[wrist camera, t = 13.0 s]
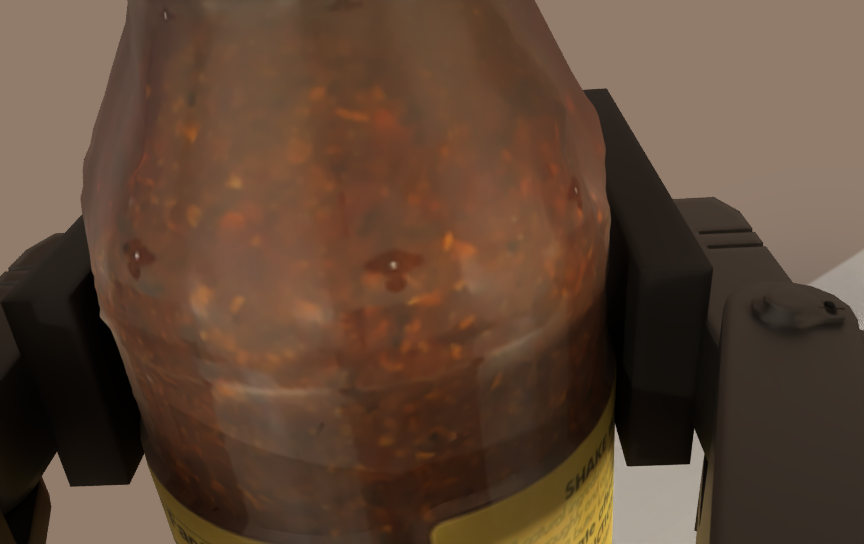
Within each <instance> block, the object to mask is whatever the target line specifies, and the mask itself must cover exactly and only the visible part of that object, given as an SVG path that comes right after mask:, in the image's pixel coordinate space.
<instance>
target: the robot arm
mask: <svg viewBox="0 0 864 544" xmlns="http://www.w3.org/2000/svg"><path fill="white" fill-rule="evenodd" d="M583 92H584V93H585V95H586V97H587V98H588V99H589V101H590V102H591V103H592V104H593V106H594V107H595V109H596V112H597V114H598V116H599V120H600V125H601V129H602V134H603V138H604V143H605V147H606V153H605V170H606V195H607V200H608V203H609V206H610V216H611V225H610V250H609V270H608V275H607V287H606V295H607V324H608V331H609V334H610V337H611V340H612V344H613V347H614V352H615V358H616V402H615V425H616V428H617V432H618V436H619V439H620V443H621V446H622V450H623V454H624V457H625V461H626V464H627V466H652V465H680V464H690V459H691V451H692V442H693V434H694V429H695V431H696V433H697V436H698V438H699V441H700V443H701V446H702V448H703V451H704V453H705V454H704V461H703V469H702V477H701V484H700V492H699V500H698V507H697V515H696V523H695V530H694V531H697V536H696V544H864V331H863V330H860V329H859V325H858V320H857V318H856V316H855V314H854V313H853V311H852V309H851V308H850V306H848V305H847V304H846V303H844V302H843V301H841V300H840V299H839V298H837V297H836V296H834V295H832V294H830V293H827V292H825V291H822V290H819V289H817V288H814V287H812V286H807V285H801V284H796V283H793V282H792V281H791V279H790V278H789V277H788V276H787V274H786V273H785V271H784V270H783V269H782V268H781V266H780V265H779V263H778V262H777V261H776V259H775V258H774V257H773V256H772V254H771V253H770V251H769V250H768V249H767V247H765V246H763V242H762V241H761V240H760V238H759V237H758V235H757V234H756V233H755V232H752V227H751V226H750V225H749V223H748V222H747V221H746V220H745V218H744V217H743V215H742V214H741V213H740V211H738V210H736V209H734V208H732V207H731V206H729V205H727V204H725V203H724V202H722V201H720V200H718V199H716V198H715V197H707V198H687V199H672V198H671V196H670V194H669V193H668V191H667V189H666V188H665V186H664V184H663V183H662V181H661V179H660V178H659V176H658V174H657V172H656V171H655V169H654V167H653V166H652V164H651V162H650V161H649V159H648V158H647V156H646V154H645V152H644V151H643V149H642V147H641V146H640V144H639V142H638V141H637V139H636V137H635V135H634V134H633V132H632V130H631V129H630V127H629V125H628V124H627V122H626V120H625V119H624V117H623V115H622V114H621V112H620V110H619V109H618V107H617V105H616V103H615V102H614V100H613V98H612V97H611V95H610V93H609V92H608V90H607V89H591V90H583ZM8 269H9V271H8V272H4V273H3V274H2V275H1V276H0V544H46V538H47V532H48V525H49V519H50V512H51V502H50V496H49V493H48V490H47V488H46V485H45V483H44V481H43V478H42V475H43V473H44V472H45V470H46V468H47V467H48V465H49V464H50V462H51V460H52V459H53V457H54V455H55V454H56V452H58V455H59V458H60V460H61V463H62V465H63V468H64V471H65V473H66V476H67V479H68V481H69V484H70V486H71V487H72V486H101V485H128V484H130V482H131V480H132V478H133V476H134V474H135V472H136V470H137V468H138V465H139V463H140V461H141V459H142V457H143V455H144V449H143V446H142V442H141V433H140V416H141V414H140V411H139V408H138V404H137V402H136V400H135V398H134V396H133V394H132V387H131V385H130V382H129V379H128V375H127V374H126V369H125V366H124V363H123V360H122V358H121V355H120V352H119V349H118V346H117V343H116V341H115V339H114V336H113V334H112V331H111V329H110V328H109V327H108V326H107V325H106V323H105V322H104V321H103V320H102V319H101V318H100V306H99V303H98V296H97V292H96V289H95V283H94V275H93V273H92V269H91V261H90V253H89V247H88V242H87V236H86V231H85V225H84V220H83V214H82V215H81V216H80V217H79V218H78V219H77V221H76V222H75V223H74V224H73V225H72V226H71V227H70V228H69V229H68V230H67V231H66V232H65V233H56V234H54V235H52V236H50V237H48V238H46V239H45V240H43V241H41V242H40V243H38V244H36V245H34V246H32V247H31V248H29V249H27V250H26V251H25V252H24V253H23V254H22V255H21V256H20V257H19V258H18V259H17V260H16V261H15V262H14V263H13V264H12V265H11V266H10V267H9V268H8Z"/></svg>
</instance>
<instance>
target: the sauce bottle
mask: <svg viewBox="0 0 864 544" xmlns="http://www.w3.org/2000/svg"><path fill="white" fill-rule="evenodd" d="M605 153H606V147H605V143H604V138H603V134H602V129H601V125H600V120H599V116H598V114H597V112H596V109H595V107H594V106H593V104H592V103H591V102H590V101H589V99H588V98H587V97H586V95H585V93H584V92H583V90H582V88H581V87H580V85H579V83H578V82H577V80H576V79H575V77H574V75H573V73H572V72H571V70H570V68H569V66H568V64H567V62H566V60H565V58H564V56H563V54H562V52H561V50H560V49H559V47H558V45H557V43H556V41H555V39H554V37H553V35H552V33H551V31H550V29H549V27H548V25H547V23H546V21H545V19H544V18H543V16H542V14H541V12H540V10H539V8H538V6H537V4H536V2H535V0H128V6H127V15H126V23H125V26H124V30H123V33H122V36H121V39H120V42H119V46H118V49H117V52H116V56H115V59H114V63H113V66H112V69H111V73H110V76H109V80H108V84H107V88H106V92H105V95H104V98H103V101H102V104H101V107H100V110H99V113H98V116H97V119H96V122H95V125H94V128H93V133H92V139H91V144H90V147H89V149H88V151H87V153H86V156H85V158H84V164H83V190H82V195H81V207H82V214H83V220H84V225H85V231H86V236H87V242H88V247H89V253H90V261H91V269H92V273H93V275H94V283H95V289H96V292H97V296H98V303H99V306H100V318H101V319H102V320H103V321H104V322H105V323H106V325H107V326H108V327H109V328H110V329H111V331H112V334H113V336H114V339H115V341H116V343H117V346H118V349H119V352H120V355H121V358H122V360H123V363H124V366H125V369H126V374H127V375H128V379H129V382H130V385H131V387H132V394H133V396H134V398H135V400H136V402H137V404H138V408H139V411H140V414H141V416H140V433H141V442H142V446H143V449H144V453H145V457H146V460H147V464H148V467H149V469H150V472H151V475H152V478H153V481H154V483H155V486H156V489H157V491H158V494H159V497H160V500H161V503H162V505H163V508H164V511H165V514H166V517H167V520H168V523H169V526H170V528H171V531H172V534H173V537H174V540H175V542H176V544H612V517H613V473H614V434H615V402H616V358H615V352H614V347H613V344H612V340H611V337H610V334H609V331H608V324H607V295H606V287H607V275H608V270H609V250H610V225H611V216H610V206H609V203H608V200H607V195H606V170H605Z"/></svg>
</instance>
